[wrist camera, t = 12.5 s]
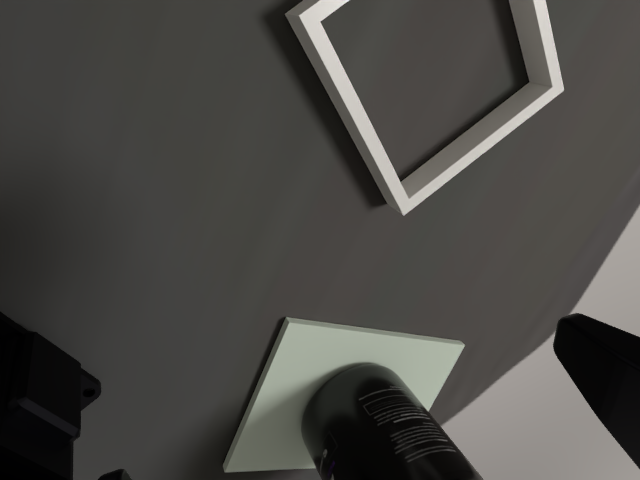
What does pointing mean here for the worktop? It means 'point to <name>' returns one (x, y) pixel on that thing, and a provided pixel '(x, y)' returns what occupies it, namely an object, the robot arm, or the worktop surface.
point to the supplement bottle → (377, 431)
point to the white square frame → (467, 147)
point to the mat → (313, 371)
